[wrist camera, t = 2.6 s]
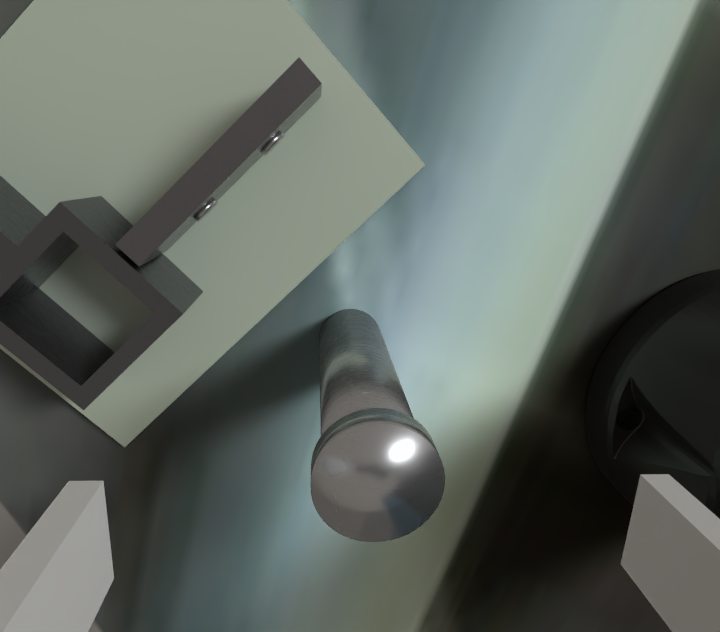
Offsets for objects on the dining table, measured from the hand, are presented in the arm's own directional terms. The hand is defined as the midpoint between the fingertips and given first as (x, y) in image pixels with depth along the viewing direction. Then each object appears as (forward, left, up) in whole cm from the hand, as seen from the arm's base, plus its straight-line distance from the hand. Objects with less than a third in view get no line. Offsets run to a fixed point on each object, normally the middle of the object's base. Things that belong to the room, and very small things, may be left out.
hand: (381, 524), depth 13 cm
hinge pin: (0, 0, -15) cm, 15 cm away
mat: (+12, +2, -15) cm, 19 cm away
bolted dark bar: (+10, -2, -14) cm, 17 cm away
